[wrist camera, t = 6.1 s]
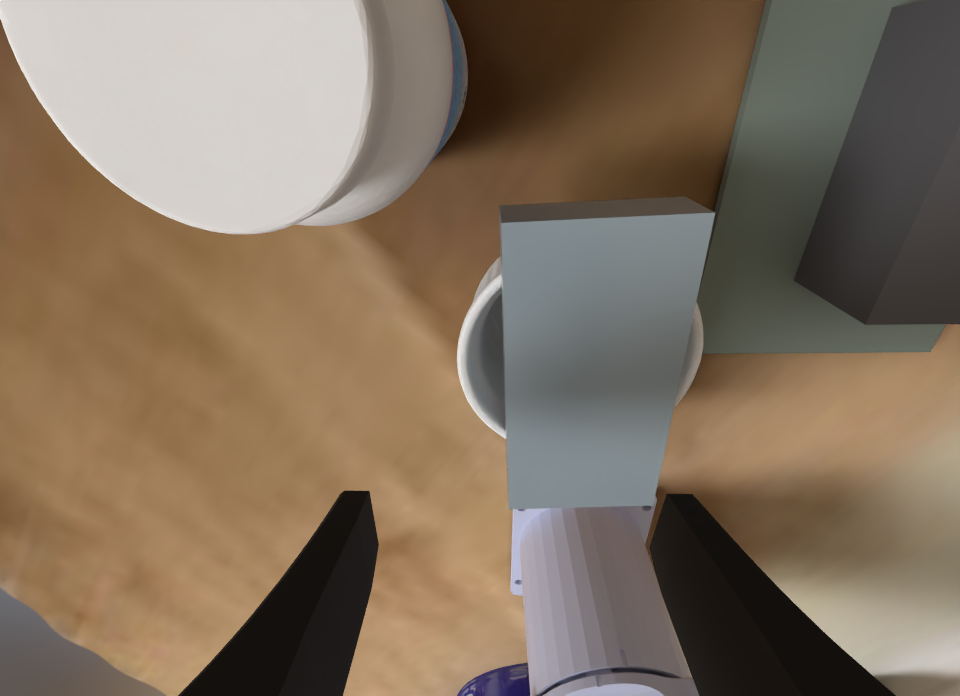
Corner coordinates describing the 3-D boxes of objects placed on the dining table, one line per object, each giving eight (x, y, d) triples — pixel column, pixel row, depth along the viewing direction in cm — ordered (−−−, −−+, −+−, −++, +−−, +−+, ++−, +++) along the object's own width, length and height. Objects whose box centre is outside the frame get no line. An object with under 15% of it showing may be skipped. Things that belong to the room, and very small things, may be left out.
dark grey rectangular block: (879, 279, 18) (971, 323, 15) (793, 280, 18) (865, 324, 15) (1007, 5, 14) (1183, -24, 10) (892, 7, 14) (1028, -21, 10)
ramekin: (450, 222, 18) (440, 257, 14) (675, 201, 17) (727, 231, 14) (473, 399, 22) (470, 461, 19) (652, 386, 22) (687, 448, 18)
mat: (922, 347, 20) (930, 352, 20) (680, 349, 20) (683, 353, 20) (1205, -155, 12) (1226, -163, 12) (801, -144, 12) (810, -151, 12)
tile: (637, 467, 19) (652, 505, 17) (506, 470, 19) (508, 509, 17) (685, 196, 13) (715, 212, 11) (499, 205, 13) (501, 223, 12)
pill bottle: (387, -95, 13) (102, -636, 3) (502, 100, 16) (532, 118, 6) (250, 47, 15) (-197, -31, 5) (372, 202, 17) (229, 346, 8)
